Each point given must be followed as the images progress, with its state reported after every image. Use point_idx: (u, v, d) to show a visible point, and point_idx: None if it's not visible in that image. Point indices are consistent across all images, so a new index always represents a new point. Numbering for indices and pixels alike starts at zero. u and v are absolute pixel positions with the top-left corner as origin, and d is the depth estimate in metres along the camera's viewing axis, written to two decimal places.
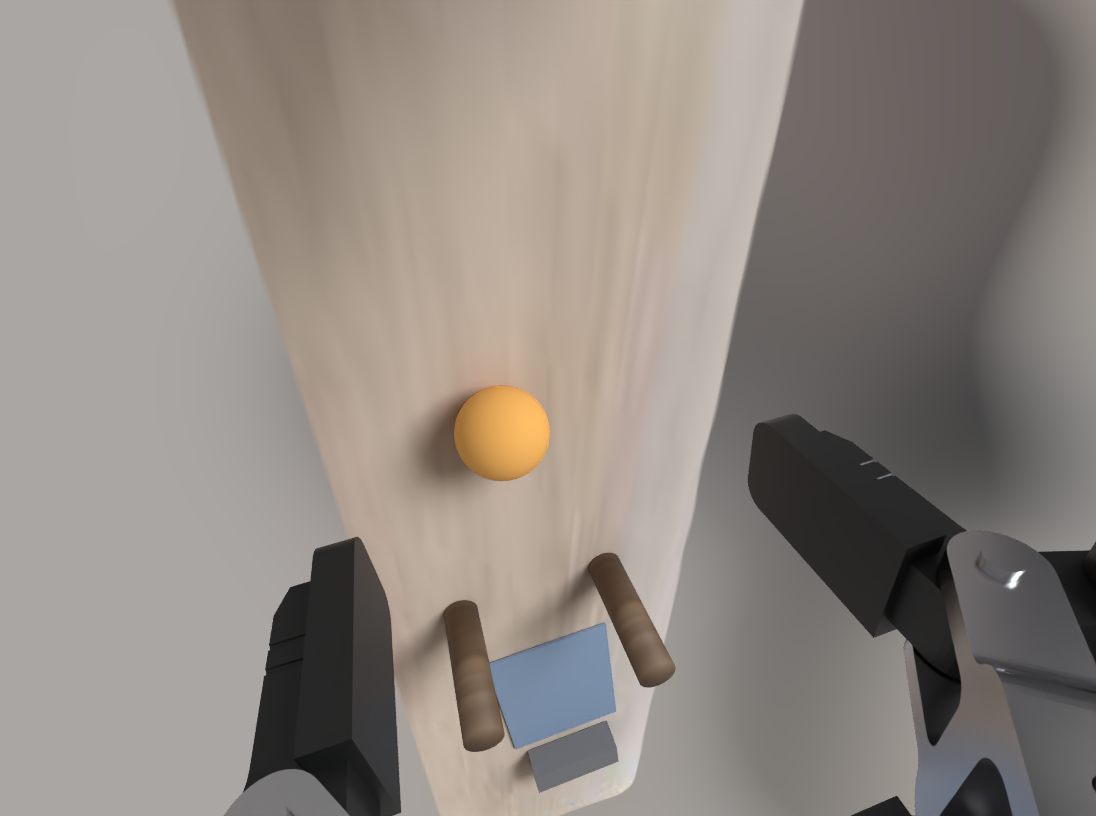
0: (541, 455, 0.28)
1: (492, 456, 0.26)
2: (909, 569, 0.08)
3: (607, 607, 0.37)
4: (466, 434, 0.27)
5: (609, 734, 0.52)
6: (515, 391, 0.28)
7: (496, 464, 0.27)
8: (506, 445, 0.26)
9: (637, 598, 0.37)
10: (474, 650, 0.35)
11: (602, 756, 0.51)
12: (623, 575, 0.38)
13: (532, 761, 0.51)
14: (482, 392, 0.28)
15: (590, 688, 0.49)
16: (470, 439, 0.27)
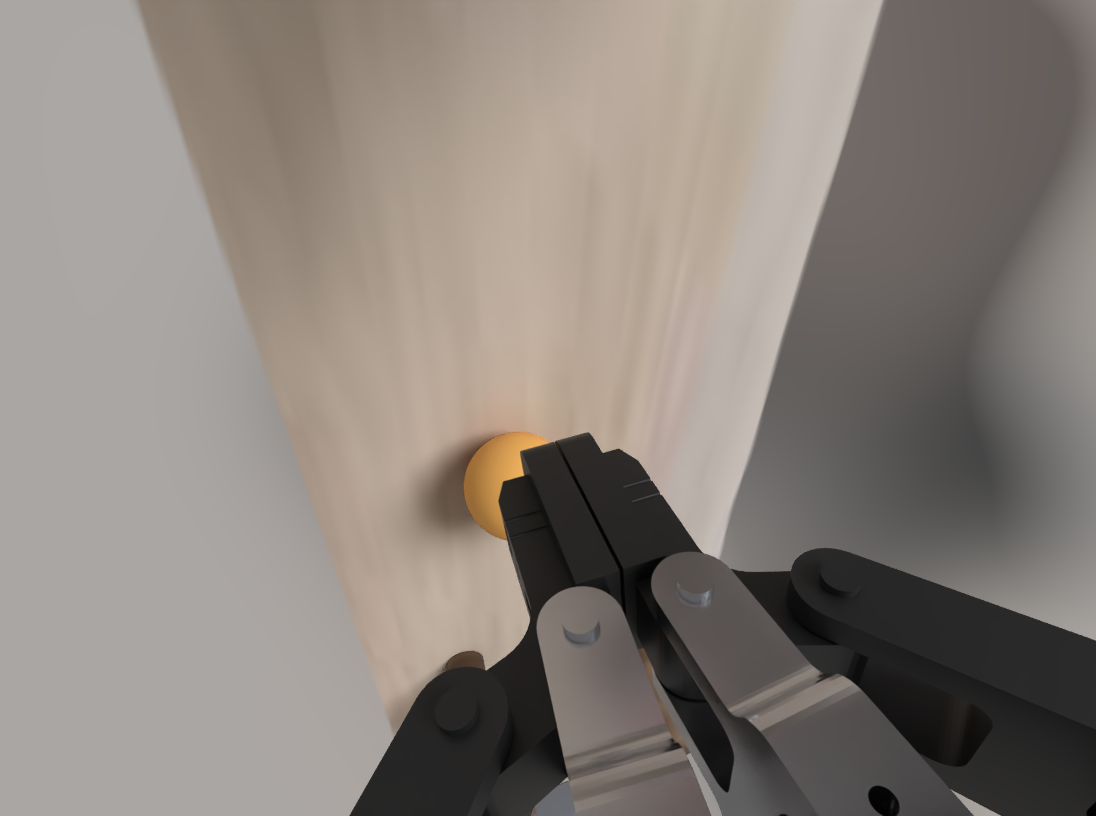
0: None
1: None
2: (638, 588, 0.08)
3: None
4: (478, 492, 0.23)
5: None
6: (534, 441, 0.24)
7: None
8: None
9: None
10: None
11: None
12: None
13: (536, 807, 0.48)
14: (497, 441, 0.24)
15: None
16: (483, 497, 0.23)
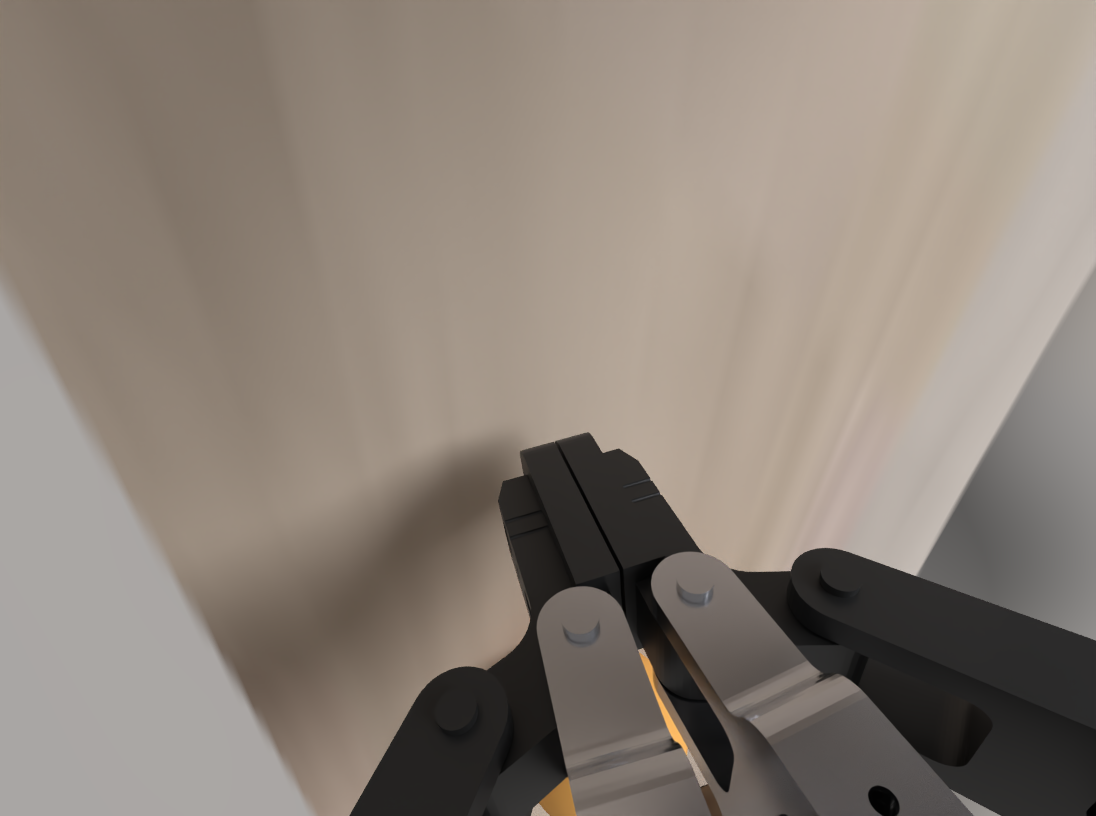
0: None
1: None
2: (638, 588, 0.08)
3: None
4: None
5: None
6: None
7: None
8: None
9: None
10: None
11: None
12: None
13: None
14: None
15: None
16: None
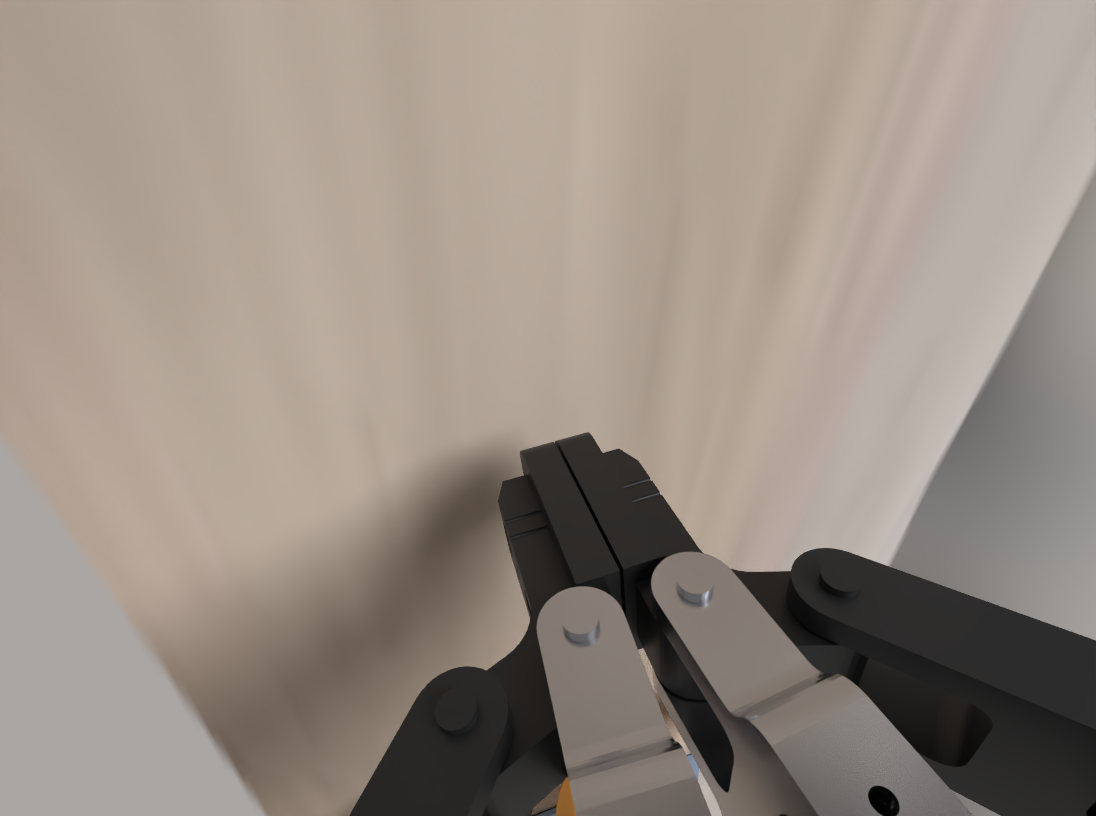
0: None
1: None
2: (638, 588, 0.08)
3: None
4: None
5: None
6: None
7: None
8: None
9: None
10: None
11: None
12: None
13: None
14: None
15: None
16: None
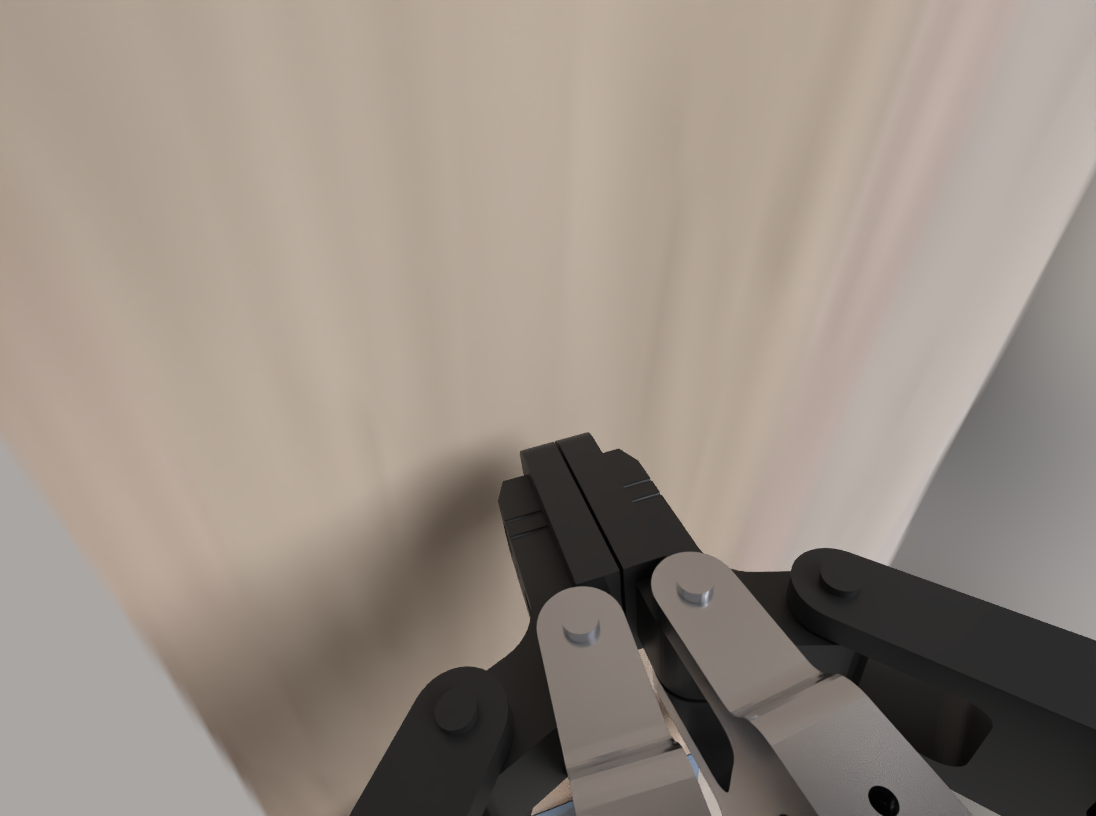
0: None
1: None
2: (638, 588, 0.08)
3: None
4: None
5: None
6: None
7: None
8: None
9: None
10: None
11: None
12: None
13: None
14: None
15: None
16: None
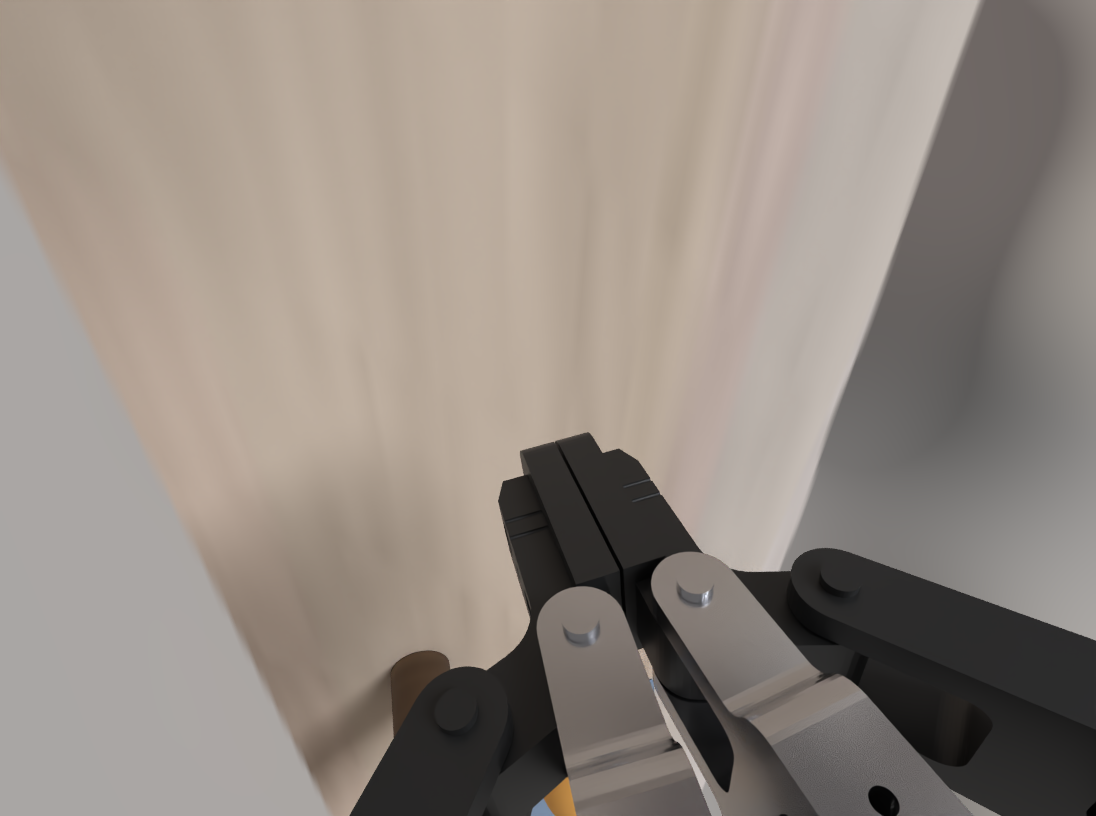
0: None
1: None
2: (638, 589, 0.08)
3: None
4: None
5: None
6: None
7: None
8: None
9: None
10: None
11: None
12: None
13: None
14: None
15: None
16: None
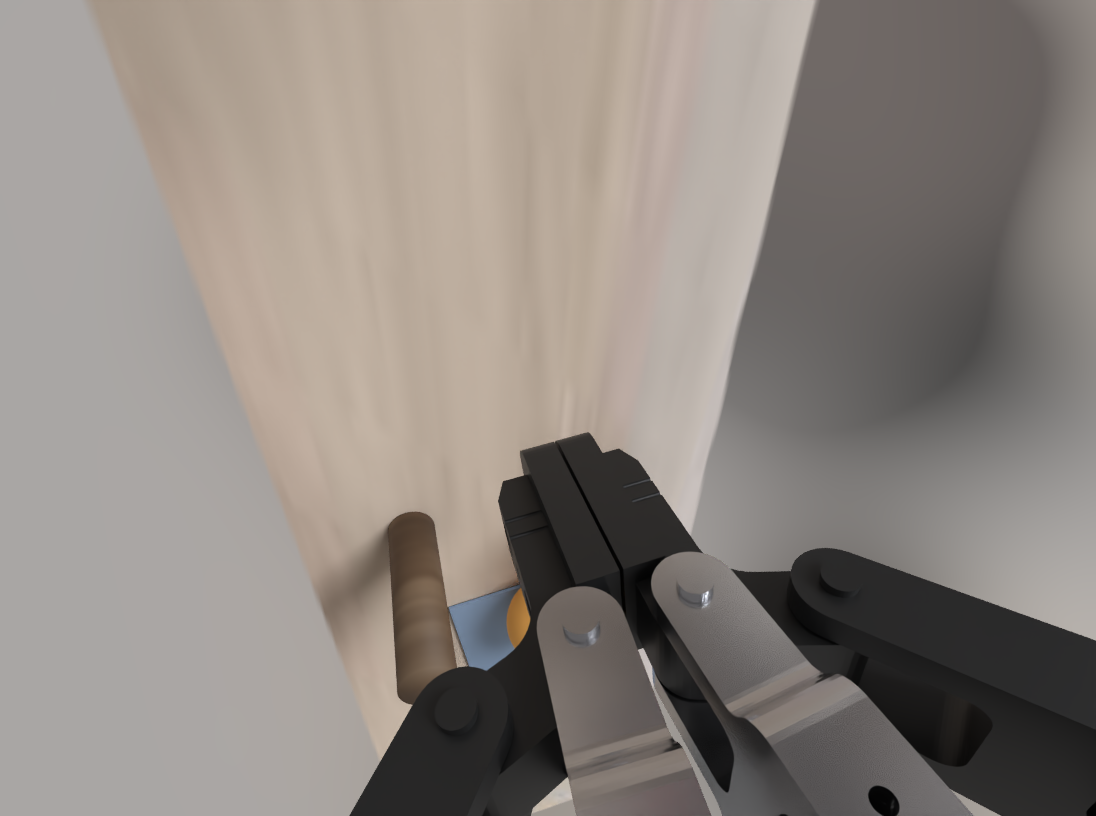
0: None
1: None
2: (638, 588, 0.08)
3: None
4: None
5: None
6: None
7: None
8: None
9: None
10: (423, 569, 0.25)
11: None
12: None
13: None
14: None
15: None
16: None
